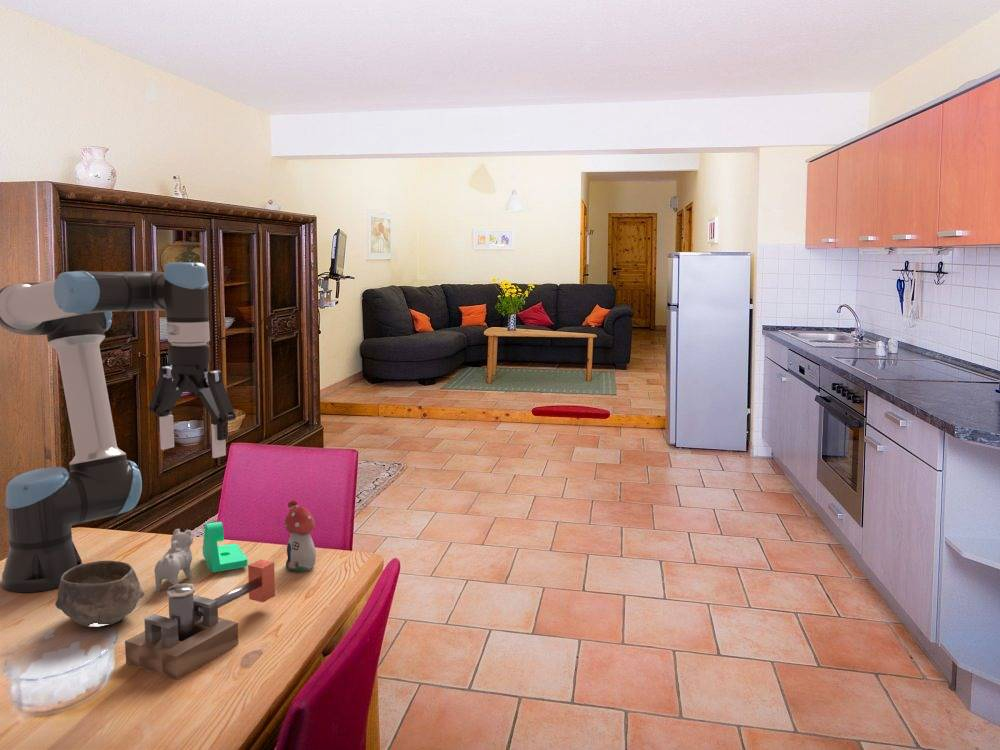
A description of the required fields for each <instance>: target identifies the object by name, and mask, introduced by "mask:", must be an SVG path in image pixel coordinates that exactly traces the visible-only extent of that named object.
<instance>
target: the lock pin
mask: <svg viewBox="0 0 1000 750" xmlns="http://www.w3.org/2000/svg"><path fill="white" fill-rule="evenodd" d="M247 570H248V576H247V577H248V582H246V583H244V584H242V585H240V586H238V587H236V588H234V589H232V590H230V591H227V592H225V593H224V594H222V595H220V596H218V597H216V598H214V599H213V600H216V601H217V603H218V609H219V608H222V607H223V606H225V605H227V604H229V603H231V602H233V601H235V600H237V599H238V598H241V597H243V596H245V595H246V594H248V599H249V600H251V601H256V602H260V603H265V602H267V601H269V600H270V599H272V598H274V597H276V581H275V580H276V579H275V578H276V577H275V562H273V561H269V560H264V559H259V560H256V561H254V562H252V563H250V564H248V565H247ZM196 614H197V615H198V616H199V617H202V616H203V609H202V606H200V607H198V608H197V609H196Z"/></svg>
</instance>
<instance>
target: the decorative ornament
mask: <svg viewBox="0 0 1000 750" xmlns="http://www.w3.org/2000/svg"><path fill="white" fill-rule="evenodd" d="M287 507H288V508H289V509H290V510H289V511H288V513H287V515H286V516H285V520H284V528H285V530H286V531H287V532H288V533H290V536H289V539H288V541H287V545H286V555H287V559H286V561H285V567H286V569H287V570H288V571H289V572H290V573H295V574H296V573H297V574H298V573H306V572H309V571H310V570H311V569H313V567H314V566H315V564H316V559H317V550H316V547H315V544H314V540H313V539H312V536H311V533H312V532H313V531H314V530H315V527H316V521H315V518H314V517H313V514H312V513H311V512H310V511H309V510H308V509H307V508H306V507H303V506H298V501H297V499H291V500H289V501H288V502H287Z"/></svg>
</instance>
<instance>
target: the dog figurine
mask: <svg viewBox="0 0 1000 750" xmlns="http://www.w3.org/2000/svg"><path fill="white" fill-rule="evenodd" d="M170 539H171V540H170V542H171V544H170V545H171V546H170V548H168V550H167V551H166V553H164V555H163V557H162V558H160V559H159V560H158V561H157V562H156V564H155V566H154V578H155V579H154V580H155V591H156V592H160V591H161V590H162V588H161V586H162V583H163V580H167V581H168V582H169V583H171V584H172V586H173V585H177V584H179V574H180V572H181V571H182V572H183V573H184V575H185V579H187V580H192V579H193V574H192V571H191V565H192V561H193V555H192V550H191V549H190V548H191V546H192V544H193V541H194V536H193V535H192V531H191V529H185V531H184V532H183V531H182V532H181V530H180V528H175V529H174V530H173V532H172V536H171V538H170Z"/></svg>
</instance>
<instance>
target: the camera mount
mask: <svg viewBox="0 0 1000 750" xmlns="http://www.w3.org/2000/svg"><path fill="white" fill-rule="evenodd" d="M224 538H225V531H224V523H223V522H222V521H218V522H217V521H216V522H209V523H205V524H204V533H203V541H202V556H203V557H204V559H205V564H206V566H207V568H208V570H209V572H212V573H218V572H222V571H228V570H235V569H239V568H245V567H248V565H249V564H248V557H247V556H246V554H245V553H244V552H243V550H242V549H241V547H240V546H239V544H237V543H229V544H224V545H223V544H222V545H218V542H224V540H225V539H224Z"/></svg>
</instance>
